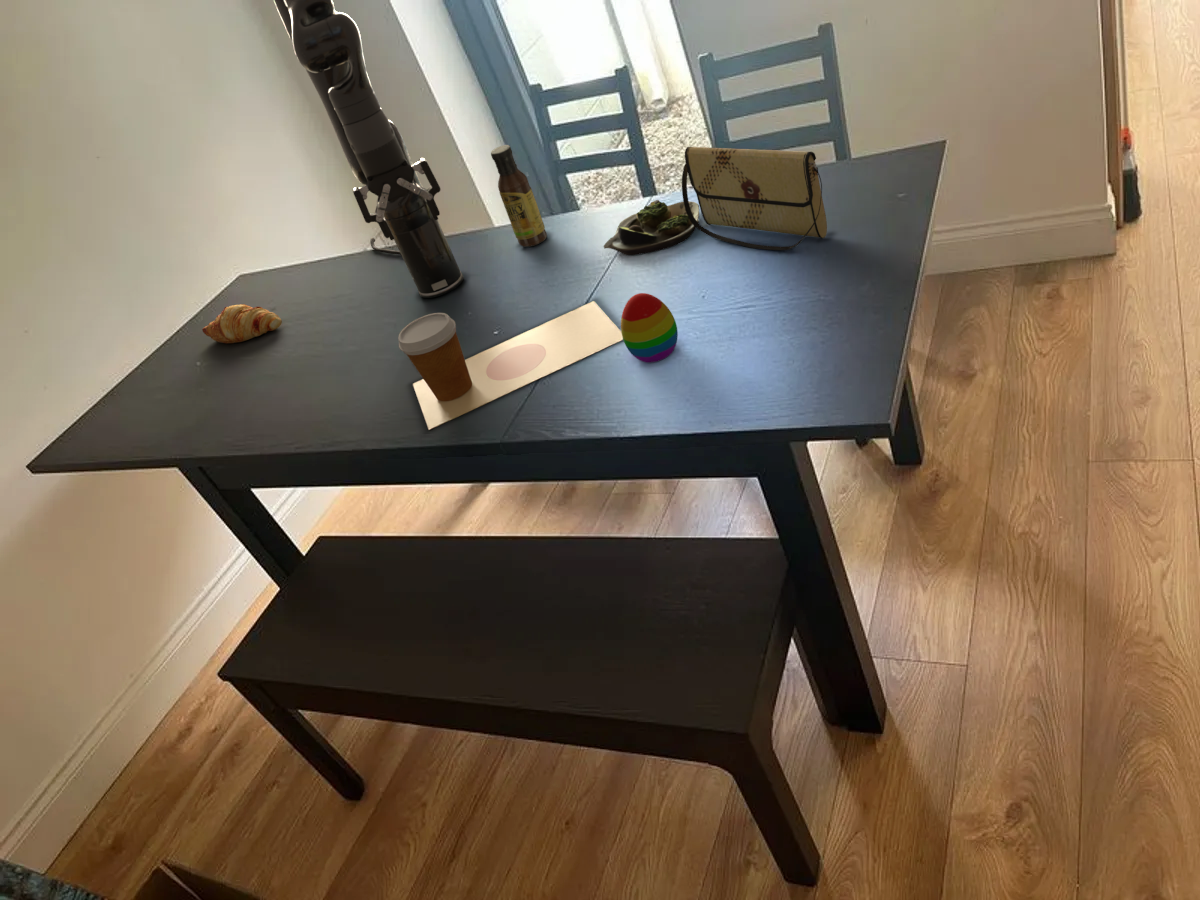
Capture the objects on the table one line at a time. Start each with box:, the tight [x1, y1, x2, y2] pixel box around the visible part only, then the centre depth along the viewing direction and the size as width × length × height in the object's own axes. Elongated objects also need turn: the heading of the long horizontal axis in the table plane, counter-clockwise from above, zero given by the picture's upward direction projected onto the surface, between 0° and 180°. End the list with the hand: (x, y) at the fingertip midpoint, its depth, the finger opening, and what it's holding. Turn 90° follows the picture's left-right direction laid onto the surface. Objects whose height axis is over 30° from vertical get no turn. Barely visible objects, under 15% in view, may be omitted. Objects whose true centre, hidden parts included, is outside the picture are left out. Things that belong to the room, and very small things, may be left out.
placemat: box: [412, 300, 624, 431], centre depth 154 cm, size 17×34×1 cm, turn 109°
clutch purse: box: [681, 146, 828, 251], centre depth 158 cm, size 30×7×15 cm, turn 43°
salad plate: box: [603, 199, 700, 256], centre depth 177 cm, size 19×18×5 cm
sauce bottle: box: [490, 144, 548, 248], centre depth 187 cm, size 6×6×20 cm
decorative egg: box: [620, 292, 679, 364], centre depth 139 cm, size 8×8×10 cm
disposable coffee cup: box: [397, 312, 472, 401], centre depth 149 cm, size 10×10×12 cm
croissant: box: [201, 303, 283, 344], centre depth 201 cm, size 21×10×8 cm, turn 74°
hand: (414, 228), depth 168 cm, fingers open, 8 cm apart
